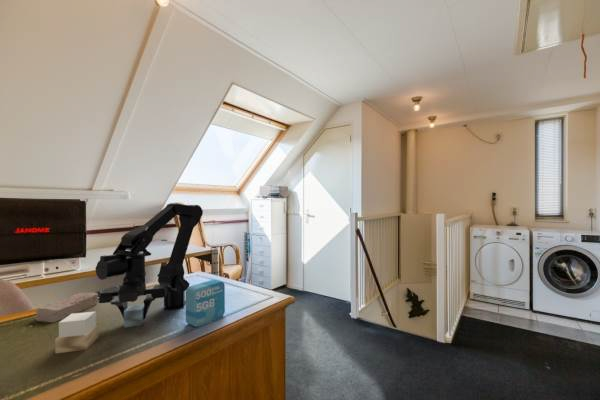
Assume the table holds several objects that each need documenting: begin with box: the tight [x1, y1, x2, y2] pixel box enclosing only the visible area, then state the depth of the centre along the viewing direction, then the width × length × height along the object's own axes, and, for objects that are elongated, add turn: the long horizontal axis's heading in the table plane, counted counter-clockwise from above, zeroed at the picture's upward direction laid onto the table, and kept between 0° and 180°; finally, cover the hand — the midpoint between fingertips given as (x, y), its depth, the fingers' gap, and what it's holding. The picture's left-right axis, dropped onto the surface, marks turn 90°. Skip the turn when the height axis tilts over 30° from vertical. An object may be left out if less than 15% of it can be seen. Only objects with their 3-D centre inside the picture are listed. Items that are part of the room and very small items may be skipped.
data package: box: [185, 279, 226, 328], centre depth 92 cm, size 12×4×12 cm, turn 144°
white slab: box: [58, 310, 97, 338], centre depth 76 cm, size 6×6×4 cm
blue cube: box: [123, 303, 147, 328], centre depth 90 cm, size 5×5×5 cm
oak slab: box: [54, 323, 99, 354], centre depth 76 cm, size 7×7×4 cm
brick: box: [35, 292, 99, 323], centre depth 100 cm, size 16×8×5 cm, turn 170°
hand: (135, 319), depth 90 cm, fingers closed on blue cube, 5 cm apart
